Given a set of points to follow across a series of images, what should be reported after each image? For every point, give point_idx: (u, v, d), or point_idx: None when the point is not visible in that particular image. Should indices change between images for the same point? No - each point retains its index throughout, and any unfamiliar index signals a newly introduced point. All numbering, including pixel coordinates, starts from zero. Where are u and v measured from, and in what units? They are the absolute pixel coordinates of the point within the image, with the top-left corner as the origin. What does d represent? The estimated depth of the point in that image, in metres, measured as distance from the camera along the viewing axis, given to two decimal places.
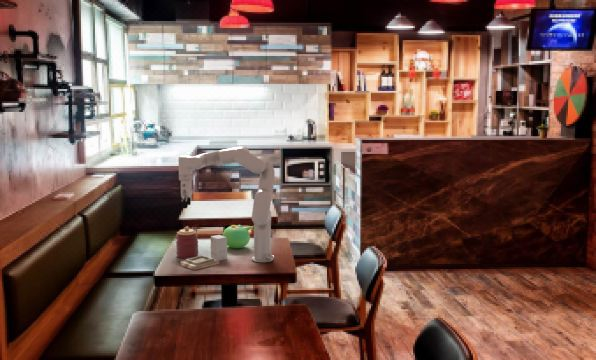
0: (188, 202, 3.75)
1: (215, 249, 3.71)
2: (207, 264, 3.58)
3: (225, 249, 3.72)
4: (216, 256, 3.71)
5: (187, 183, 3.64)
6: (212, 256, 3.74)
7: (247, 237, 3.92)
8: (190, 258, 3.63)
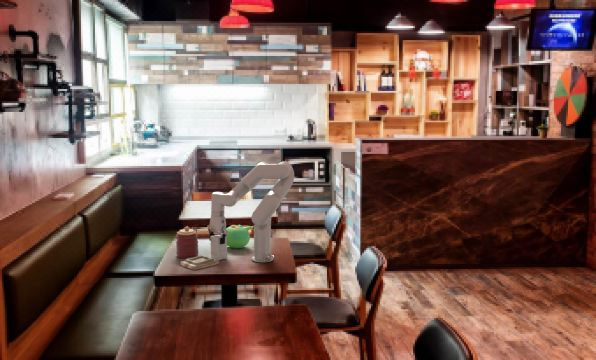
0: None
1: (215, 248, 3.71)
2: (207, 264, 3.58)
3: (225, 249, 3.73)
4: (216, 256, 3.71)
5: None
6: (212, 256, 3.74)
7: (247, 237, 3.92)
8: (190, 258, 3.63)
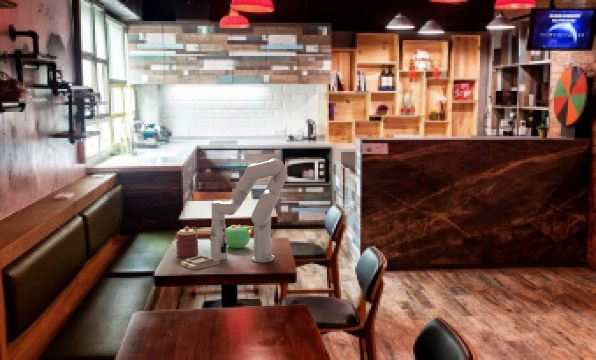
0: None
1: (215, 248, 3.71)
2: (207, 264, 3.58)
3: None
4: (216, 256, 3.71)
5: (225, 227, 3.70)
6: (212, 256, 3.74)
7: (247, 237, 3.92)
8: (190, 258, 3.63)
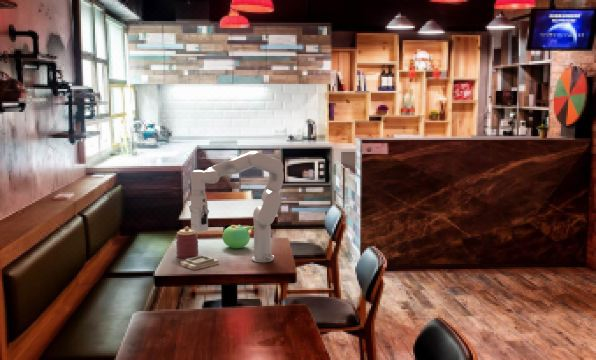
0: None
1: (195, 220, 3.56)
2: (207, 264, 3.58)
3: None
4: (197, 228, 3.56)
5: (206, 198, 3.55)
6: (192, 228, 3.59)
7: (247, 237, 3.92)
8: (190, 258, 3.63)
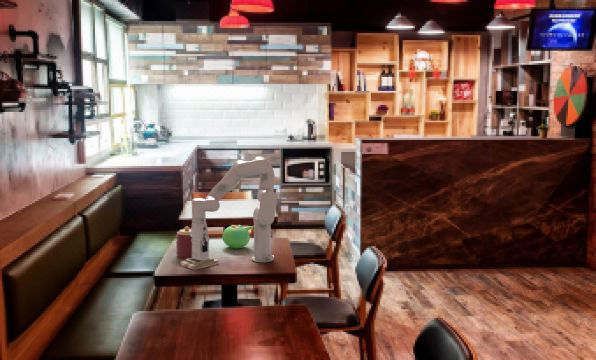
0: None
1: (196, 248, 3.59)
2: (207, 264, 3.58)
3: None
4: (197, 256, 3.58)
5: (206, 226, 3.57)
6: (193, 256, 3.62)
7: (247, 237, 3.92)
8: (190, 258, 3.63)
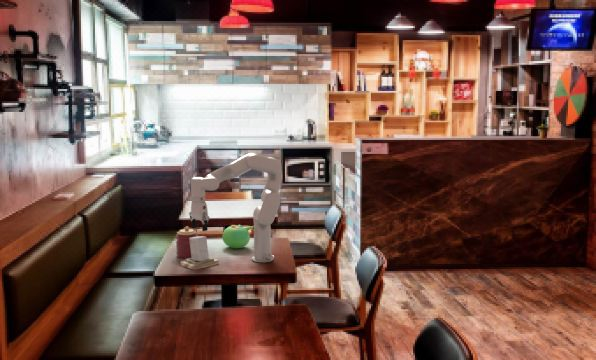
0: (195, 225, 3.63)
1: (195, 249, 3.59)
2: (207, 264, 3.58)
3: (206, 249, 3.61)
4: (197, 257, 3.58)
5: (206, 205, 3.55)
6: (193, 258, 3.61)
7: (247, 237, 3.92)
8: (190, 258, 3.63)
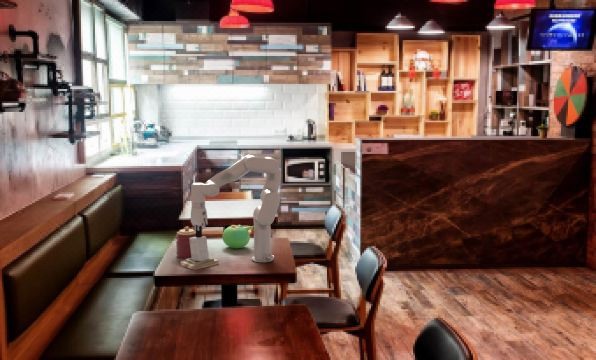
0: None
1: (195, 249, 3.59)
2: (207, 264, 3.58)
3: (206, 249, 3.61)
4: (197, 257, 3.58)
5: None
6: (193, 258, 3.61)
7: (247, 237, 3.92)
8: (190, 258, 3.63)
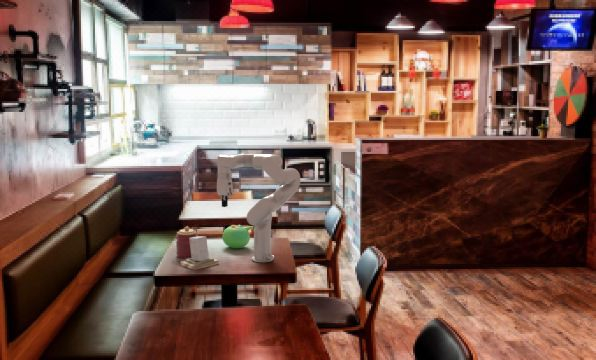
0: None
1: (195, 249, 3.59)
2: (207, 264, 3.58)
3: (206, 249, 3.61)
4: (197, 257, 3.58)
5: (231, 181, 3.75)
6: (193, 258, 3.61)
7: (247, 237, 3.92)
8: (190, 258, 3.63)
